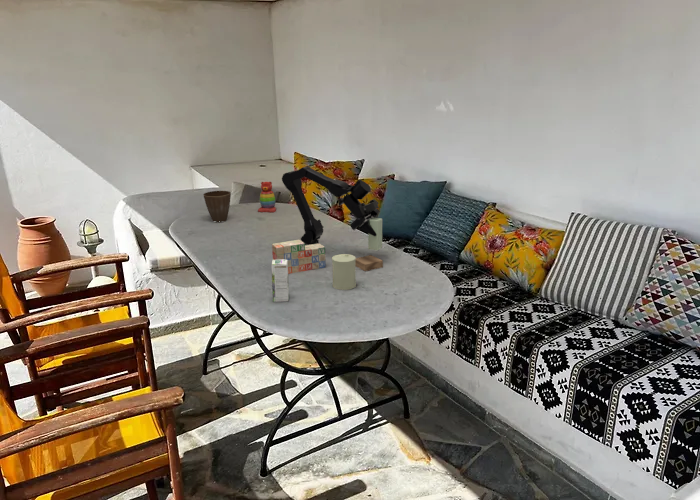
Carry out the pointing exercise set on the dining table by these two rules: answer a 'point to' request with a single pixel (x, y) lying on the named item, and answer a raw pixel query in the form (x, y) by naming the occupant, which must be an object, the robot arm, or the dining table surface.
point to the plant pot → (218, 204)
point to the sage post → (376, 241)
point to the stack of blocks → (300, 255)
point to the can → (344, 271)
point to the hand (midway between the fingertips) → (378, 234)
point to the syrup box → (280, 280)
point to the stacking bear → (267, 198)
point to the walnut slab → (368, 263)
